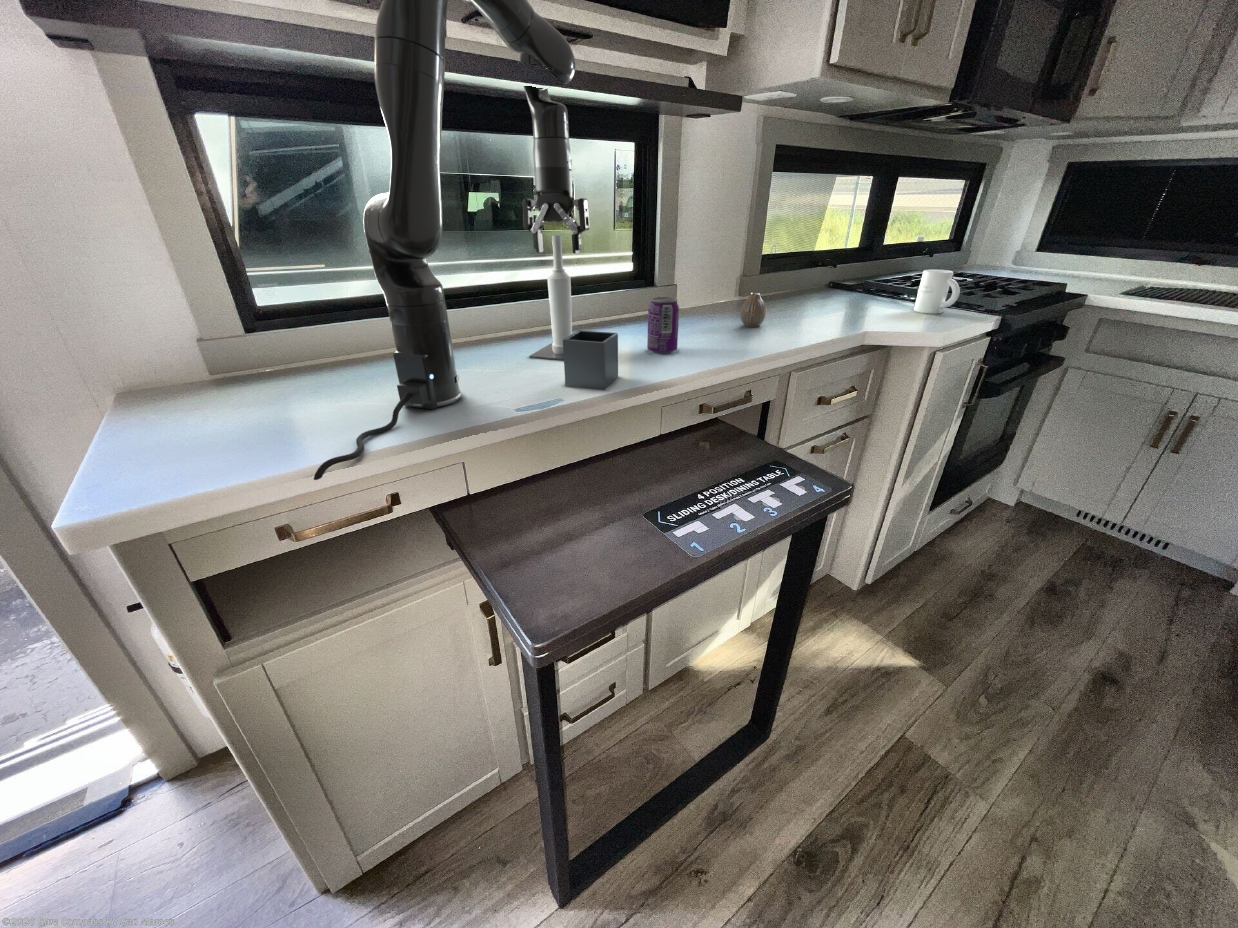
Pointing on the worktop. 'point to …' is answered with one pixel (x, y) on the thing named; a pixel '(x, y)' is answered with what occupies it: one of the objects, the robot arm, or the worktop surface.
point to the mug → (936, 291)
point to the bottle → (559, 298)
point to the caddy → (591, 359)
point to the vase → (753, 311)
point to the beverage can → (663, 325)
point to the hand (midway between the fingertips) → (557, 252)
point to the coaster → (547, 354)
